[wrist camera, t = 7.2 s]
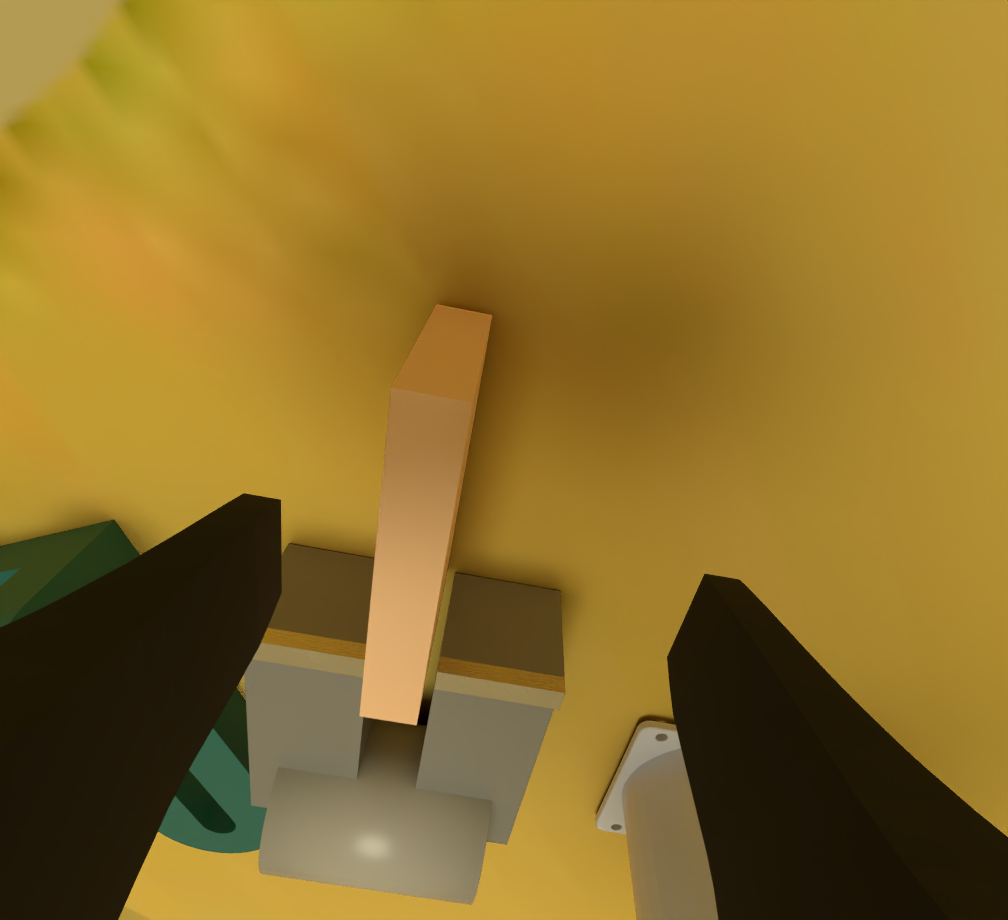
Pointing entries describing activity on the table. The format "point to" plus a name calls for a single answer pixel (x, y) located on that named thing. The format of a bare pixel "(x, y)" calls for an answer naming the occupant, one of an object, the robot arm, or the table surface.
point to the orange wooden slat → (420, 506)
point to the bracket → (224, 756)
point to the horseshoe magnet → (395, 732)
